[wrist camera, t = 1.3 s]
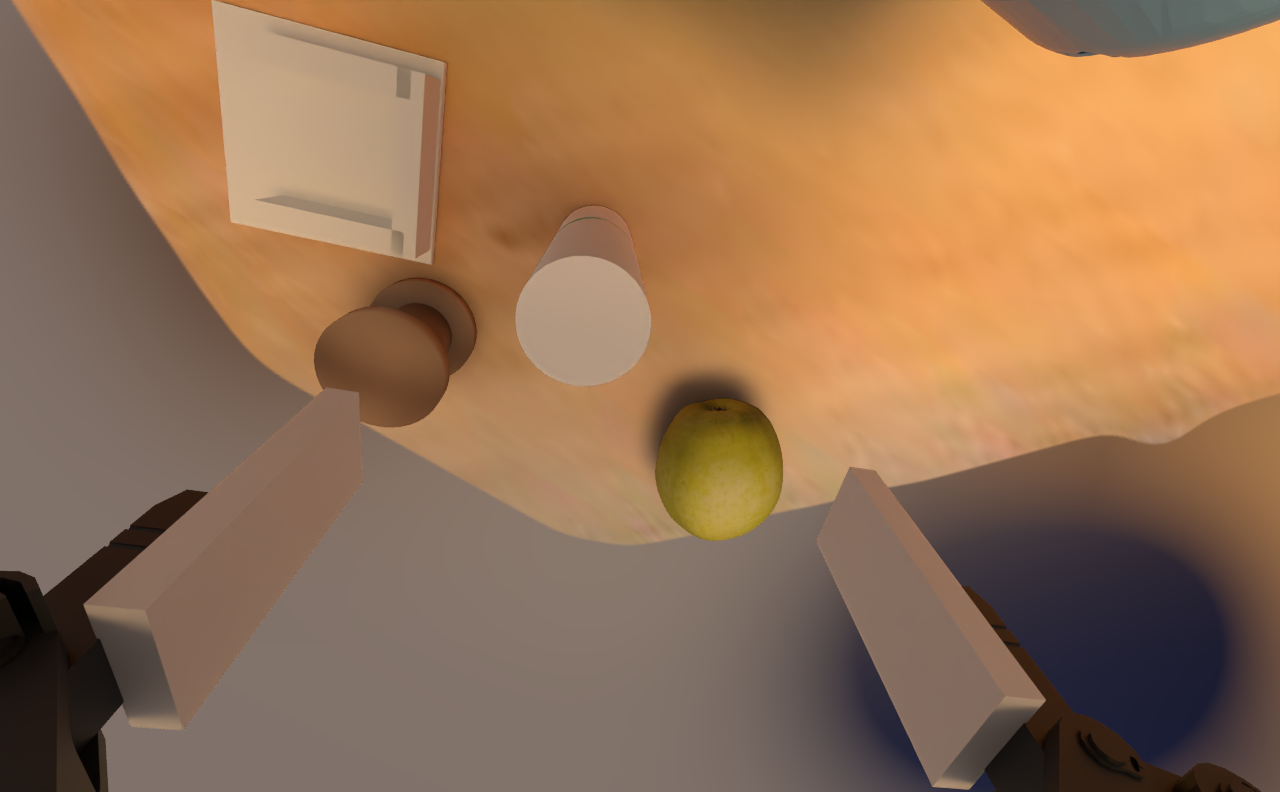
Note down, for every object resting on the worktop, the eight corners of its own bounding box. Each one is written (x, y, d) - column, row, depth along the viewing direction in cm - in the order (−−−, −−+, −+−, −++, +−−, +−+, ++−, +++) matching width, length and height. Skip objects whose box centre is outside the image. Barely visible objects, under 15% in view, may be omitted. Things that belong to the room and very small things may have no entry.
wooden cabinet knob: (374, 267, 30) (312, 300, 24) (481, 290, 31) (448, 326, 25) (372, 363, 32) (315, 415, 26) (471, 381, 33) (439, 436, 27)
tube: (645, 227, 30) (675, 295, 16) (611, 294, 31) (614, 405, 18) (576, 190, 29) (548, 229, 15) (545, 261, 30) (494, 353, 17)
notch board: (218, 2, 25) (170, -16, 22) (447, 63, 26) (428, 53, 23) (236, 220, 29) (197, 228, 26) (433, 262, 30) (416, 274, 27)
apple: (652, 495, 38) (662, 577, 31) (649, 379, 34) (660, 442, 27) (759, 489, 38) (794, 569, 31) (768, 374, 34) (811, 435, 27)
